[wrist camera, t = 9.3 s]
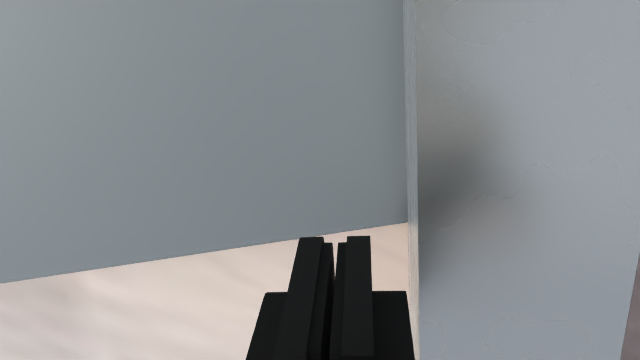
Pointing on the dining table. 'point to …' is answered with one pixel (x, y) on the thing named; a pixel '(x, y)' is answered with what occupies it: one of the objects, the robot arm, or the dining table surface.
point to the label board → (194, 127)
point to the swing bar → (522, 176)
